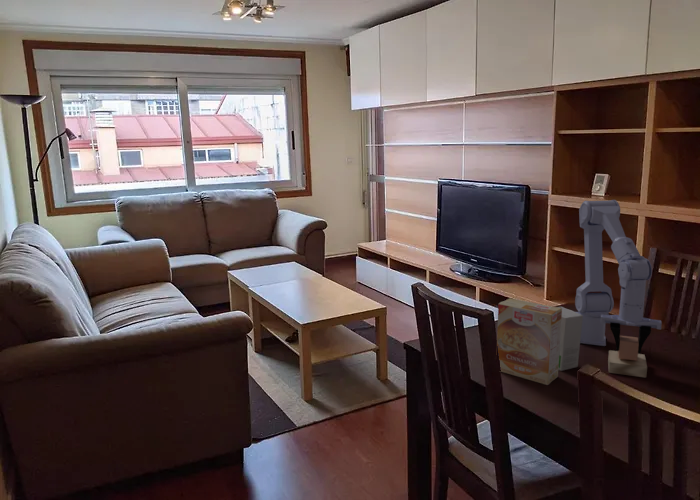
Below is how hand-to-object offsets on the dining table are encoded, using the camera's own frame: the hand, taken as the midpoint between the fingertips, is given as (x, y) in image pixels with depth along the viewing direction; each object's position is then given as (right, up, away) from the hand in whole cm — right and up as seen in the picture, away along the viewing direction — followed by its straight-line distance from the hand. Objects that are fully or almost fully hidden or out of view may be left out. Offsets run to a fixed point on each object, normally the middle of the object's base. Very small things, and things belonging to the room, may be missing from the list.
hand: (628, 350), depth 149 cm
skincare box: (-17, -5, +5) cm, 18 cm away
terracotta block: (0, -2, 0) cm, 2 cm away
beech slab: (0, -5, +1) cm, 5 cm away
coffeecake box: (-28, -6, 0) cm, 29 cm away
